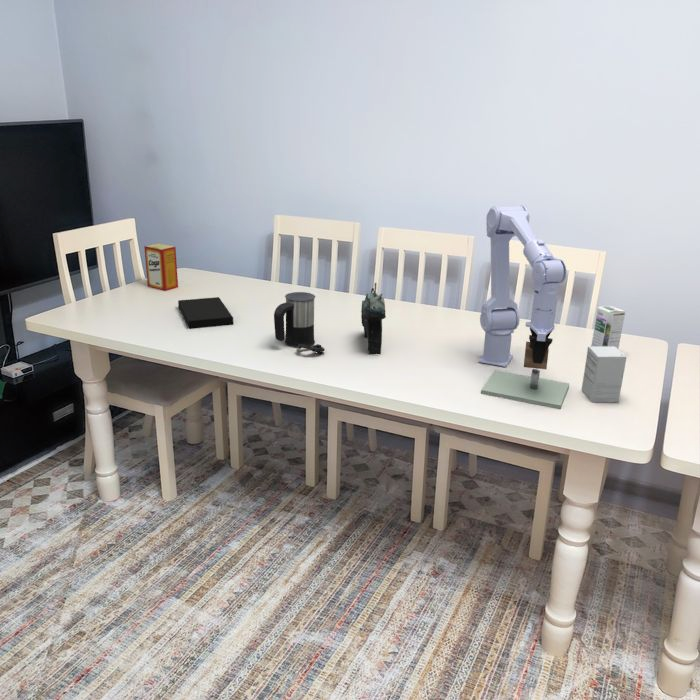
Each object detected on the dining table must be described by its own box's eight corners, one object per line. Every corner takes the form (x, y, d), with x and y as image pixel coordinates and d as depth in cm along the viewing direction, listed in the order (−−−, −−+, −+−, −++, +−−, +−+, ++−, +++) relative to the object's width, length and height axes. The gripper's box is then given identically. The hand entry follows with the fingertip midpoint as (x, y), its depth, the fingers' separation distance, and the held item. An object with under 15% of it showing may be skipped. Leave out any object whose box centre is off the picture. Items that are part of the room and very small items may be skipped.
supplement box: (608, 390, 181) (615, 345, 177) (619, 402, 174) (627, 356, 170) (580, 390, 181) (587, 345, 176) (590, 402, 174) (598, 356, 169)
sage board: (494, 373, 190) (494, 369, 190) (568, 386, 183) (569, 383, 182) (480, 393, 177) (481, 389, 177) (560, 409, 170) (560, 405, 169)
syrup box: (589, 352, 207) (596, 306, 202) (604, 350, 209) (612, 304, 204) (602, 359, 202) (610, 312, 197) (618, 356, 204) (626, 310, 199)
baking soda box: (147, 286, 261) (144, 245, 255) (161, 283, 266) (157, 242, 260) (164, 291, 256) (161, 248, 250) (178, 287, 261) (175, 245, 256)
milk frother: (295, 335, 215) (294, 289, 209) (339, 344, 208) (340, 297, 203) (270, 349, 203) (269, 301, 198) (316, 359, 196) (316, 310, 191)
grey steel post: (530, 386, 180) (532, 368, 178) (538, 387, 179) (540, 369, 178) (529, 388, 178) (531, 371, 177) (536, 390, 178) (539, 372, 176)
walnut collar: (524, 359, 180) (526, 341, 178) (546, 361, 178) (548, 343, 177) (523, 367, 175) (525, 348, 173) (546, 369, 173) (548, 351, 172)
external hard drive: (189, 330, 218) (188, 321, 217) (178, 308, 238) (178, 300, 237) (233, 325, 223) (233, 317, 222) (219, 305, 243) (219, 297, 242)
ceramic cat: (385, 356, 200) (388, 290, 192) (362, 357, 199) (365, 290, 192) (377, 333, 218) (380, 272, 211) (357, 333, 218) (359, 272, 211)
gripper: (528, 298, 178) (522, 347, 183) (527, 314, 165) (520, 366, 170) (556, 300, 177) (549, 350, 182) (557, 317, 164) (550, 370, 169)
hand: (537, 358), depth 176 cm, fingers closed on walnut collar, 6 cm apart
